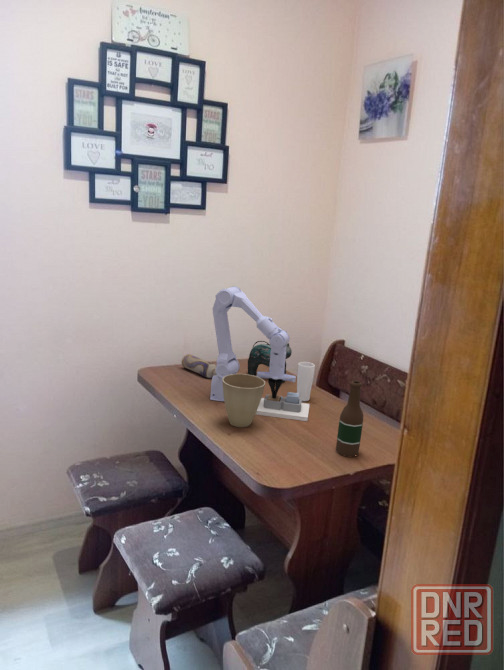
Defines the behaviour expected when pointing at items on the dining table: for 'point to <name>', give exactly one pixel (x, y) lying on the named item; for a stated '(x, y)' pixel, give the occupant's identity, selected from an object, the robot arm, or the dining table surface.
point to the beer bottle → (350, 423)
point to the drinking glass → (305, 379)
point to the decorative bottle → (199, 366)
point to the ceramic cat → (263, 357)
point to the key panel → (283, 409)
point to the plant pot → (242, 397)
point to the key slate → (292, 397)
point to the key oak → (274, 398)
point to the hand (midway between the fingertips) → (274, 397)
